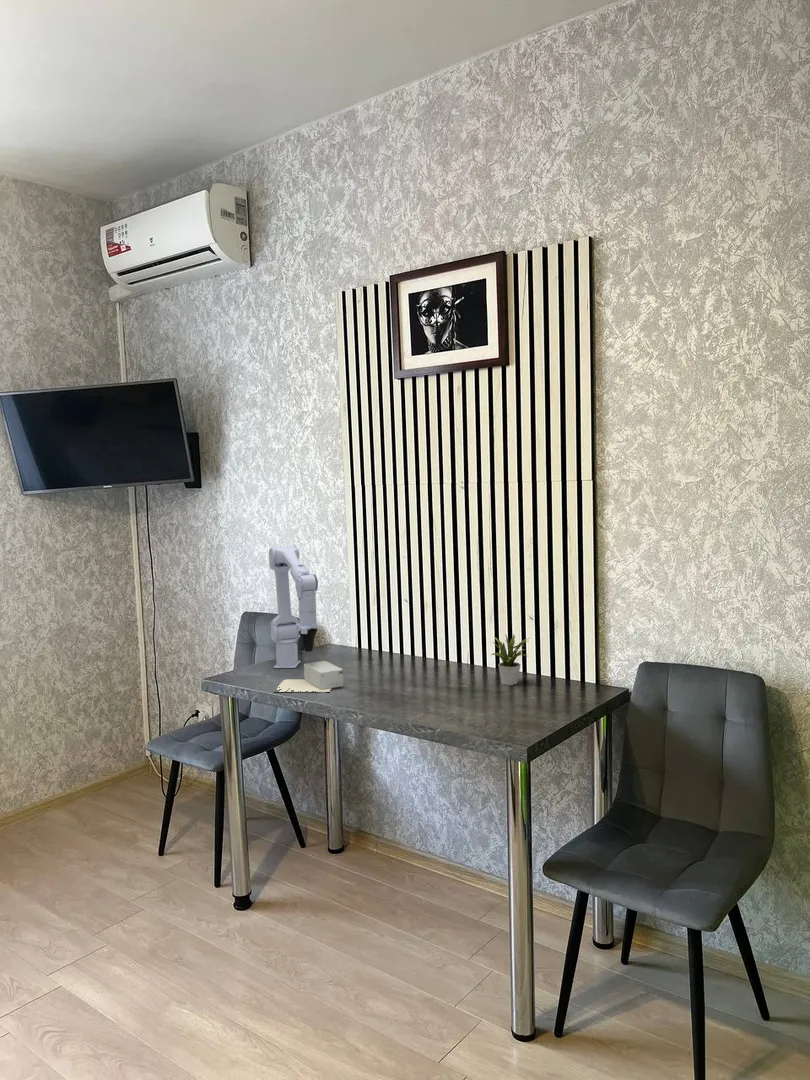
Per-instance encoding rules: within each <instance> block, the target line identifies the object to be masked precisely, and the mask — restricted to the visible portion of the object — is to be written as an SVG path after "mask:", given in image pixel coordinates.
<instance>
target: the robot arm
mask: <svg viewBox="0 0 810 1080" xmlns="http://www.w3.org/2000/svg"><path fill="white" fill-rule="evenodd" d="M268 562H269V564H268V565H269V569H271V570H272V571H274V576H275V577H274V578H275V590H276V602H277V603H276V604H277V606H276V607H277V616H275V617H274V618H273V619H272V620H271V622H270V638H271V640H272V642H274V643H275V651H276V652H275V655H276V658H275V659H276V664H275V665H274V666H273V669H296V667H298V665H299V664H300V663H301V660H299V657H298V653H299V652H298V644H297V642H298V640H299V639H300V638H301V640H302V643H303V648H304V650H305V652H306V653H307V652H308V653H309V652H313V649H314V644H315V639H316V638H315V637H316V635H317V633H318V628H317V626H318V622H317V596H316V595H317V593H316V592H317V591H318V589H319V579H318V577H317V574H315V573H311V572H310V571H309V569H308V568H307V566H306V564H304V563H303V562H300V549H299V547H298V546H297V545H296V544H293V545H284V546H283V545H282V546H281V545H280V546H271V547H270V548H269V549H268ZM289 573H290V575H291V577H292V579H293V580H294V583H295V589H296V596H297V598H298V617H296V616H294V615H292V607H291V603H292V602H291V593H290V591H291V590H290V589H291V588H290V579H289V577H290V576H289Z"/></svg>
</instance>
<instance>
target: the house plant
mask: <svg viewBox="0 0 810 1080" xmlns="http://www.w3.org/2000/svg"><path fill="white" fill-rule="evenodd" d="M504 635H505V638H506V640H505V642H506V644H505V643H504V642H502V641H500V640H499V639H498V638H497V637H495V636H494V639H495V640H496V642H497V644H496V643H495V642H494V641H492V643H493V645H495V646H496V647H497V649H498V650H499V652H496V653H495V652H493V653H491V654H490V656H497V657H499V658H500V659H501V661H502V662H500V663H498V670H499V676H500V682H501V684H502V685H504V684H505V685H504V686H515V685H514V684H516V685H517V683H519V676H520V670H521V663H519V662H517V661H516V660H517V658H518V657H520V656H521V657H523V656H525V657H527V654H526V653H525V654H524V652H523V651H526V648H525V649H524V648H523V649H521V650H519V649H520V648H521V647H522V646H524V644H525V643H527V642H528V640H529V639H530V637H529V638H525V639H523V640H521V641H520V642H519V643H518V644H517V645H515V643H516V642H515V638H516V637H515V634H514V633H513V635H512V636H511V637H512V638H511V639H510V640H509V639H508V635H507V634H506V633H505V634H504ZM505 645H507V648H506V646H505ZM522 652H523V653H522ZM521 657H520V658H518V660H519V659H521Z"/></svg>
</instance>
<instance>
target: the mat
mask: <svg viewBox="0 0 810 1080" xmlns="http://www.w3.org/2000/svg"><path fill="white" fill-rule="evenodd" d="M277 687H278V688H277ZM277 687H276V688H277V690H279V689H282V690H280V691H279V692H285V691H287V690H288V689H289V688H290V689H289V690H288V691H287V692H291V690H294V692H298V691H299V692H300V691H301V692H306V691H308V692H312V691H314V692H315V691H316V692H330V693H331V691H332V690H333V688H329V689H322V690H321V689H320V688H318V687H316V686H314V685H313V684H311V683H309V682H307V681H305V679H302V678H301V679H295V678H294V679H291V678H290V679H289V678H288V679H284V680H282V681H281V683H280V684H279V685H278V686H277ZM279 687H280V688H279ZM331 689H332V690H331ZM330 690H331V691H330Z"/></svg>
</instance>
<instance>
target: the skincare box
mask: <svg viewBox="0 0 810 1080" xmlns="http://www.w3.org/2000/svg"><path fill="white" fill-rule="evenodd" d="M303 666H304V667H303V670H304V671H303V673H304V679H305V681H307V682H309V683H311V684H313V685H314V686H316V687H318V688H320V689H321V690H322V689H329V688H332V689H334V688H339V687H344V671H343V669H344V668H341V667H339V666H337V665H336V664H333V663H331V662H329V661H327V660H321V661H312V662H308V663H304V664H303Z"/></svg>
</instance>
